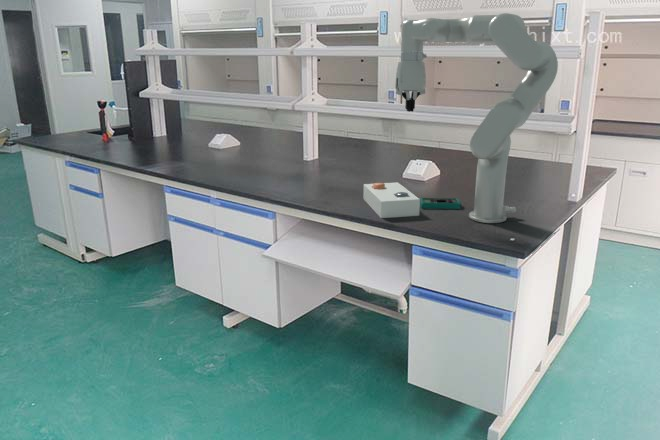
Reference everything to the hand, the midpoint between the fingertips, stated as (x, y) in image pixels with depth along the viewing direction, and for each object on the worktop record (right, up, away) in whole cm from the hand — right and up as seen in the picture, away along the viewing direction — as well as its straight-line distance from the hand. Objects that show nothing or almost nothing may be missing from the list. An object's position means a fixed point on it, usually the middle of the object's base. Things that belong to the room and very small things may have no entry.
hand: (409, 111), depth 190 cm
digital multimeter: (+12, -35, +9) cm, 38 cm away
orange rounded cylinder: (-10, -31, +14) cm, 35 cm away
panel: (-6, -34, +9) cm, 36 cm away
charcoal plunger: (-3, -35, +2) cm, 35 cm away
